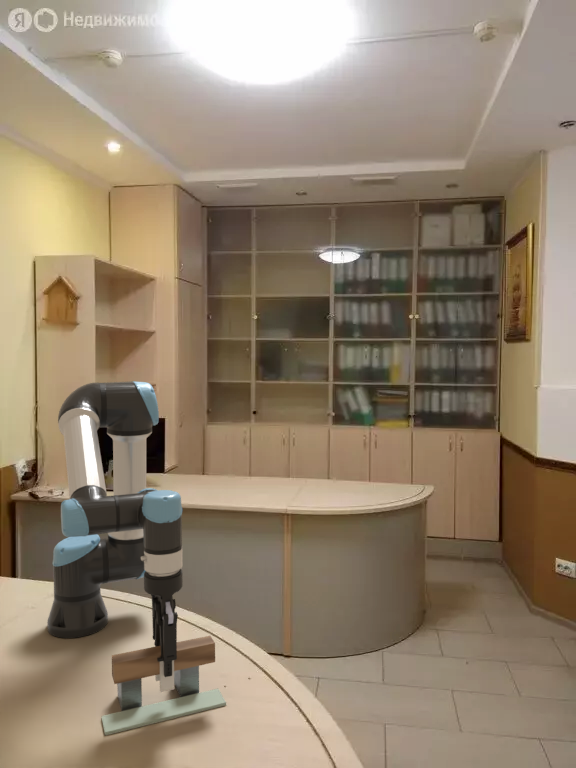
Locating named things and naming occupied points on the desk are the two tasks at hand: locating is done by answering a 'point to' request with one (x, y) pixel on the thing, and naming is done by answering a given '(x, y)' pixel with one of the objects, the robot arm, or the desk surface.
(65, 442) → the robot arm
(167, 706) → the mat
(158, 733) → the desk surface
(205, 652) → the rail
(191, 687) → the cradle posts
